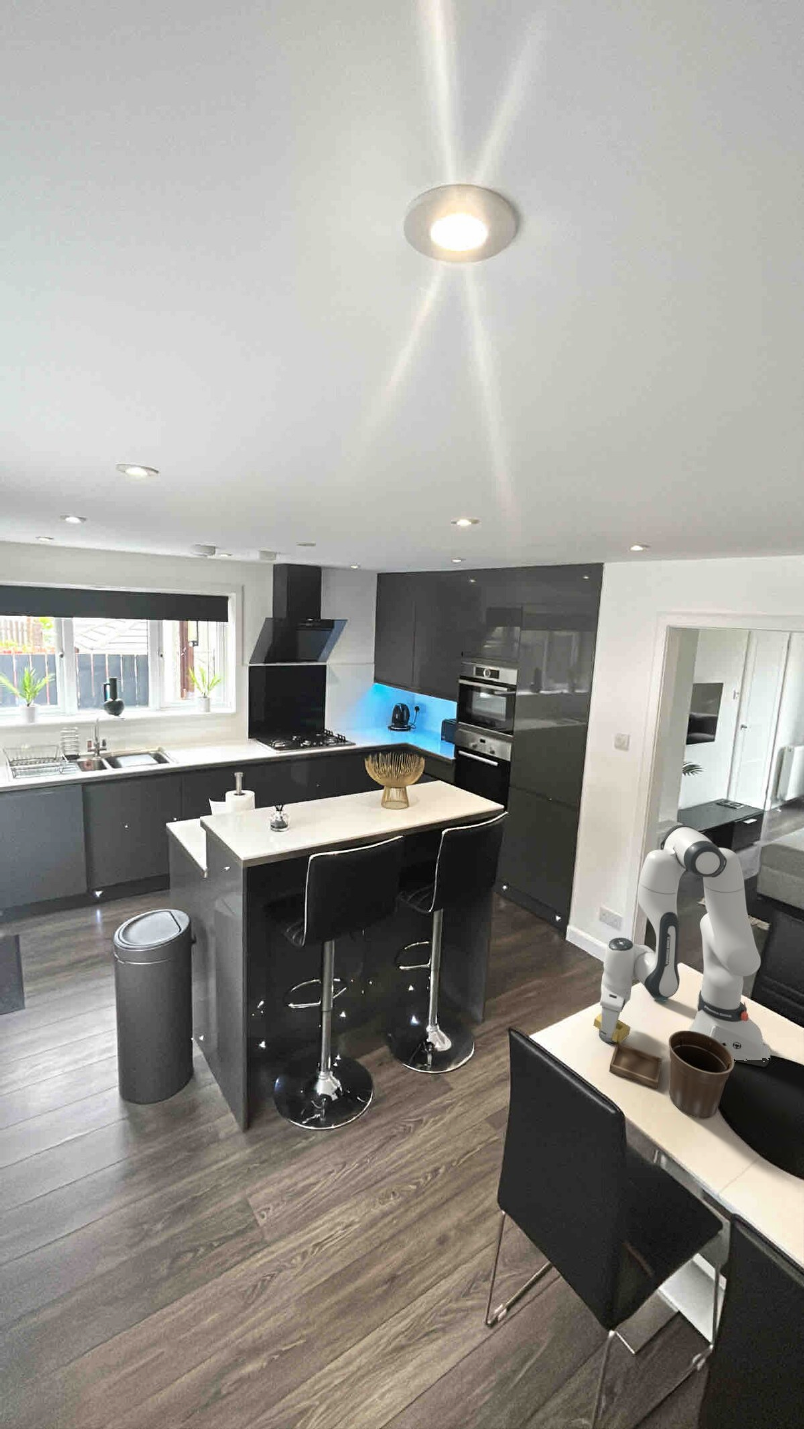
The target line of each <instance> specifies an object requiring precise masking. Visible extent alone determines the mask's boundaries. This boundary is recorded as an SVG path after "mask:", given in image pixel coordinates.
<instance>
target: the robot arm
mask: <svg viewBox="0 0 804 1429" xmlns="http://www.w3.org/2000/svg"><path fill="white" fill-rule="evenodd" d="M686 870H687V871H688V872H690V873H691V874H693V875H694V876H698V877H701V878H702V882H703V890H704V892H703V895H704V901H705V904H704V905H705V910H706V914H704V915H703V917H701V920H700V922H699V928H700V932H701V939H702V940H701V941H702V957H703V958H702V959H703V974H702V983H701V988H700V990H699V993H698V997H697V1004H696V1006H697V1007H696V1008H697V1010H696V1014H695V1017H694V1020H693V1022H692V1024H691V1025H690V1027H689V1031H694V1032H698V1033H702V1034H705V1035H707V1036H709V1037H712V1038H713V1039H715V1040H717V1041H718V1042H720V1043H721V1044H722V1045H724V1046H725V1047H726V1048H727V1049H728V1050H729V1052H730V1053H731V1054H732V1056H733V1059H735V1060H744V1061H747V1060H762V1058H766V1059H767V1060H769V1059H768V1058H770V1059H771V1051H770V1047H769V1045H768V1043H767V1042H766V1040H765V1039H764V1037H763V1033H762V1031H761V1028H760V1026H759V1025H758V1024H757V1023H756V1022H754V1021H753V1020H752V1019H751V1018H750V1017H749V1014H748V1012H747V1010H748V1007H747V1006H746V1002H745V1001H744V1002H742V1001H741V999H742V994H743V988H744V987H743V986H744V978H743V977H749V976H751V975H753V974H755V973H756V972H757V971H758V970H759V968H760V966H761V961H762V960H761V955H760V954H759V951H758V948H757V946H756V942H755V938H754V933H753V932H754V931H753V928H752V926H751V922H750V918H749V915H748V910H747V902H746V900H747V899H746V890H745V889H746V888H745V880H744V873H743V869H742V865H741V861H740V859H739V857H738V855H737V853H736V852H734V850H731V849H729V848H725V847H718V846H717V845H716V844H715V843H713V842H712V841H711V840H710V839H709V838H708V836H706V835H704V834H702V833H701V832H699V831H697V829H695V828H694V827H693V826H689V825H686V824H676V825H674V826H672V827H671V828H670V829H669V830H667V832H666V834H665V835H664V838H663V840H662V841H661V843H660V849H654V850H651V851H650V852H648V853H647V855H646V857H645V859H644V862H643V864H642V868H641V871H640V876H639V880H638V885H637V902H638V905H639V906H640V909H641V910H642V911H643V913H644V914H645V915H646V917H647V918H648V920H649V922H650V923H651V925H652V927H653V930H654V934H655V938H656V944H655V945H656V946H655V951H654V950H653V949H652V948H650V947H649V946H648V945H646V944H642V943H639V944H637V943H634V942H633V941H632V940H631V939H629V938H626V937H615V938H612V939H610V941H609V942H608V943H607V946H606V947H605V952H604V956H603V957H604V958H603V973H602V975H601V976H602V977H601V986H600V1001H599V1006H600V1007H601V1009H600V1010H601V1012H600V1014H601V1029H602V1031H603V1032H605V1033H606V1037H608V1038H612V1035H613V1034H614V1032H615V1028H616V1025H617V1021H618V1020H619V1017H620V1014H621V1013H622V1011H623V1010H624V1007H625V1005H626V1004H627V1003H628V1002H629V1001H630V1000H631V997H632V996H631V994H632V987H633V980H638V981H639V982H640V984H642V986H644V988H645V989H646V991H647V992H648V994H649V995H650V997H652V998H653V997H654V998H653V999H655V998H658V999H666V998H668V999H669V998H671V997H673V996H674V995H675V994H676V993H677V992H678V990H679V987H680V981H681V980H680V974H679V969H678V968H679V967H678V965H679V964H678V962H679V949H680V948H679V946H680V921H679V917H678V908H677V905H678V903H677V902H678V900H677V897H678V890H679V884H680V879H681V877H682V875H683V874H684V873H685V872H686ZM746 1059H747V1060H746ZM763 1062H765V1061H763Z"/></svg>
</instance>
